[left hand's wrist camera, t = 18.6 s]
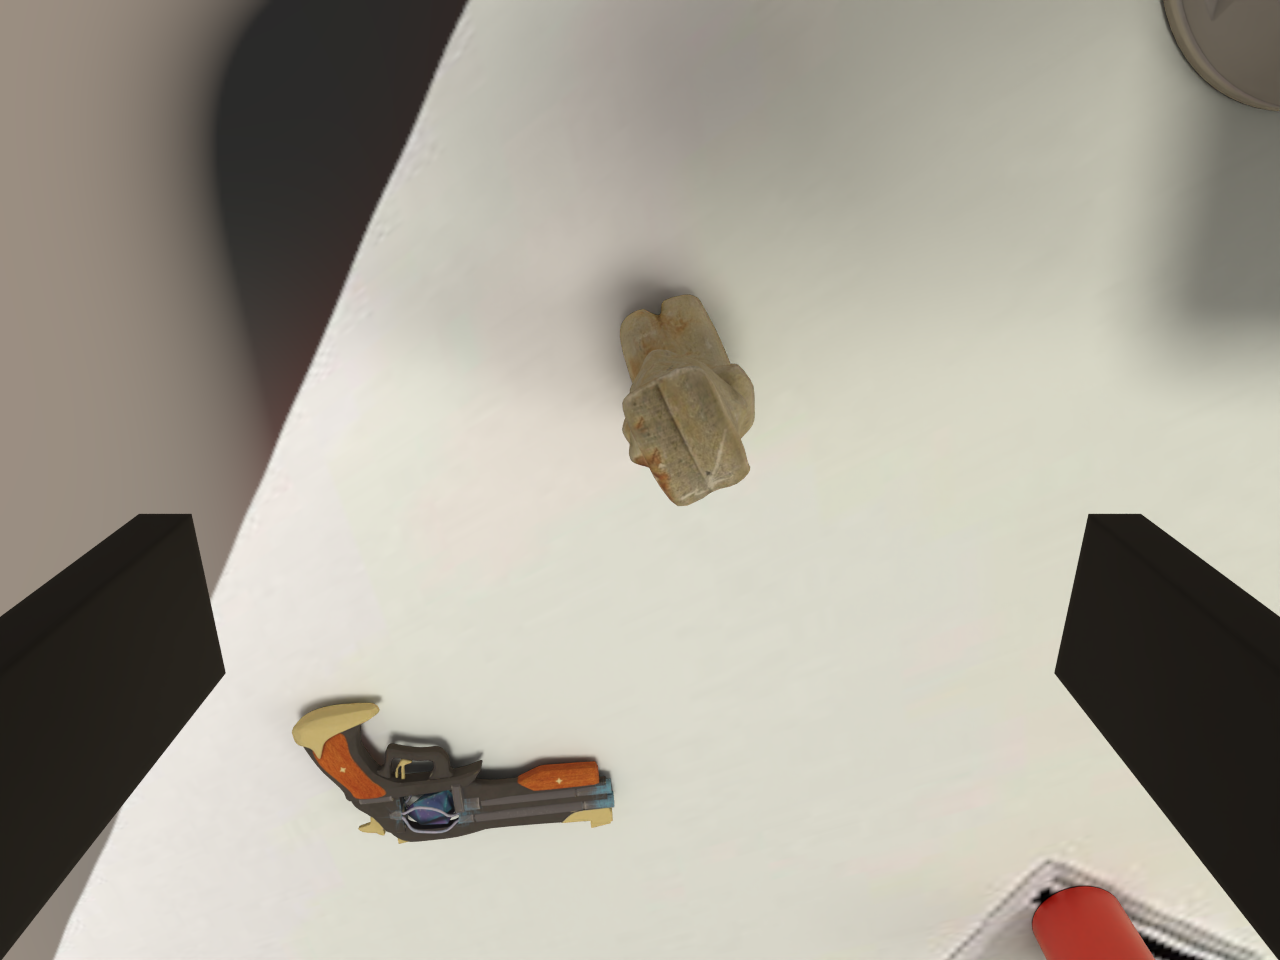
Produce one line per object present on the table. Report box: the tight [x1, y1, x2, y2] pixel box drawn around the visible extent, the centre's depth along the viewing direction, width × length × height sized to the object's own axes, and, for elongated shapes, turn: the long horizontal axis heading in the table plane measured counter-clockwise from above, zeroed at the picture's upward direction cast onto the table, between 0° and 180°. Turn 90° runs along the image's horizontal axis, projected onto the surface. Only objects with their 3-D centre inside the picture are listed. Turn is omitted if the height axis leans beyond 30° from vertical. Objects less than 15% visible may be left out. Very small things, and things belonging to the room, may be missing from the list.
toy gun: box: [292, 703, 614, 844], centre depth 53 cm, size 3×19×10 cm
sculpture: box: [620, 295, 755, 506], centre depth 37 cm, size 6×7×15 cm
